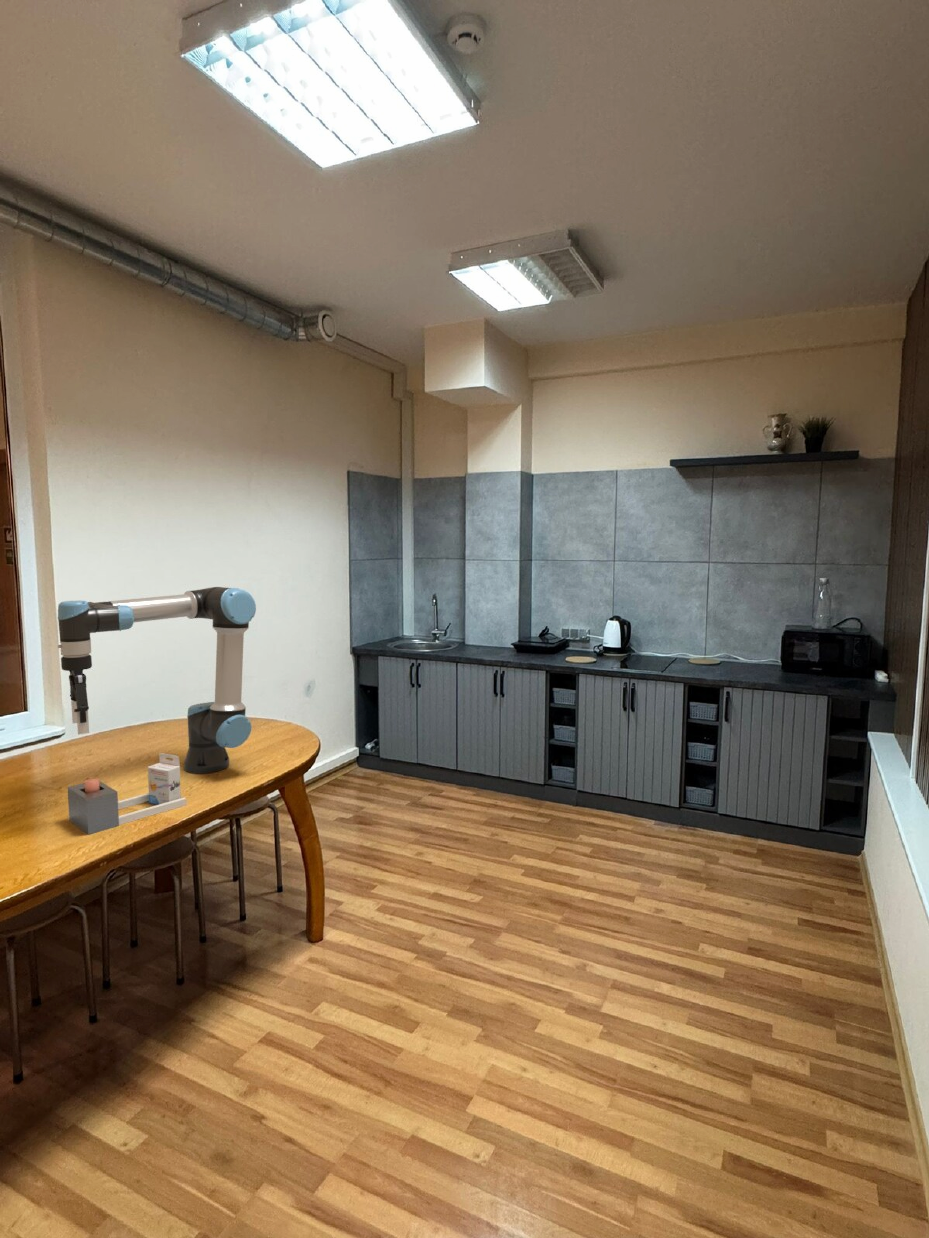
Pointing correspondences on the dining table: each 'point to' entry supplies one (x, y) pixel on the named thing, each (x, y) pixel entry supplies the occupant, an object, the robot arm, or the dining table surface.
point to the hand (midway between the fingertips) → (80, 727)
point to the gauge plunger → (91, 785)
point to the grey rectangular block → (93, 808)
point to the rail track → (146, 811)
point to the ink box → (164, 780)
